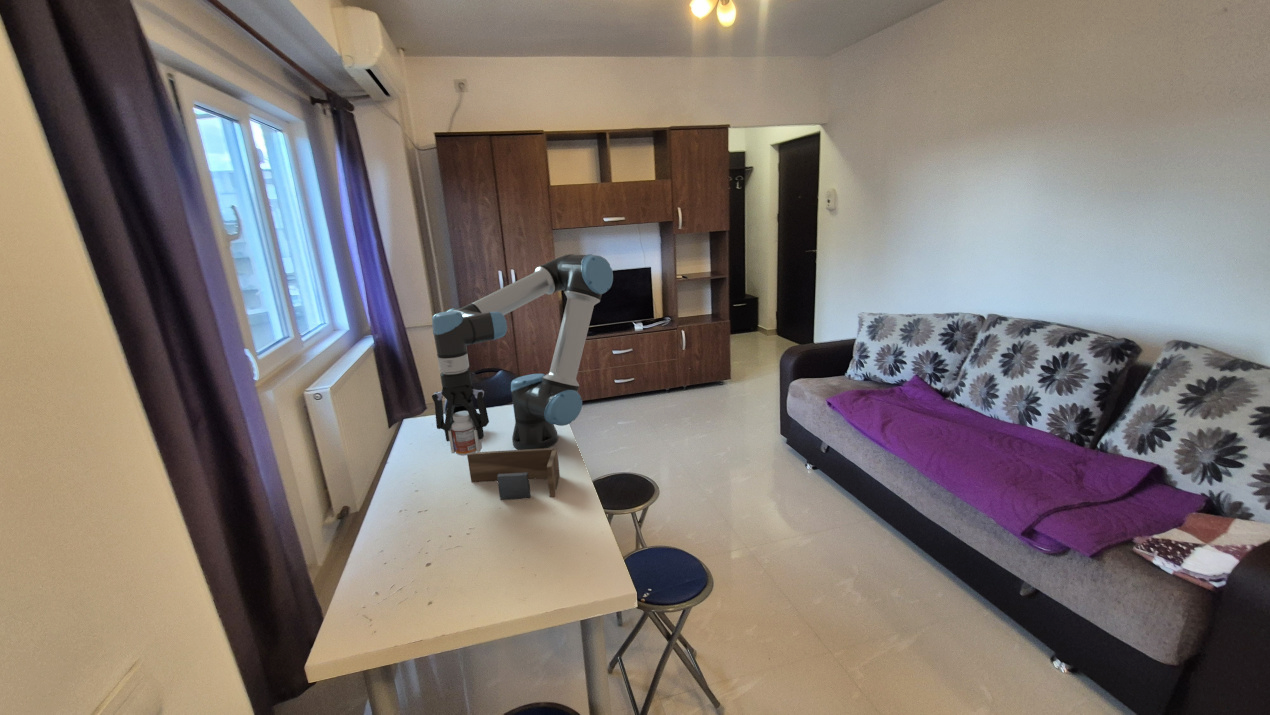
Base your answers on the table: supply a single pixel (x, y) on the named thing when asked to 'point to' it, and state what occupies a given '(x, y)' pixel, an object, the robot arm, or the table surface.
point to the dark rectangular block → (514, 486)
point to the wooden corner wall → (516, 465)
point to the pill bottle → (463, 433)
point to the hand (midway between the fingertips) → (467, 450)
